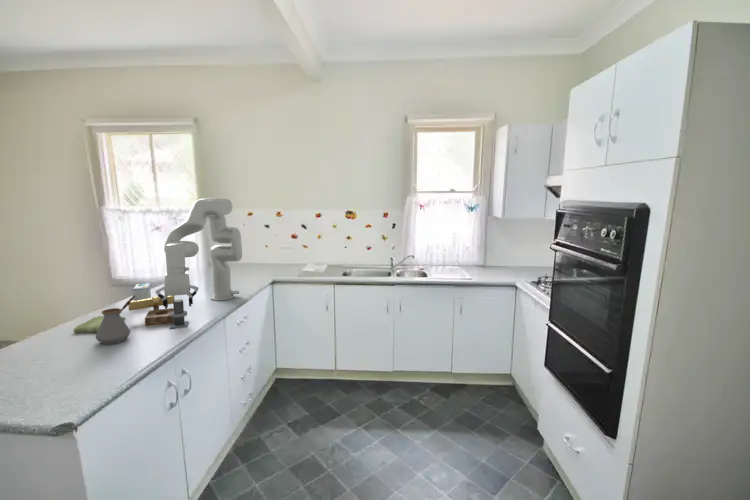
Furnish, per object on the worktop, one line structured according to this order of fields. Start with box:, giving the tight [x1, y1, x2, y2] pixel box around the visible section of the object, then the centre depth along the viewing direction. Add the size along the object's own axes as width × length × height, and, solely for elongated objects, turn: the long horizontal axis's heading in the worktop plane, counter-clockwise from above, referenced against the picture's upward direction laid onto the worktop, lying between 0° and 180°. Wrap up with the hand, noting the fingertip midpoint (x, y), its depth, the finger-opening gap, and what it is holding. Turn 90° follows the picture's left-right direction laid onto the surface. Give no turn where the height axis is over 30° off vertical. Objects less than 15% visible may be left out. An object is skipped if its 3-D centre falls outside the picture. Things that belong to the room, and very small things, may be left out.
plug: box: [170, 298, 188, 326], centre depth 161 cm, size 7×7×12 cm
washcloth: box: [73, 315, 127, 334], centre depth 158 cm, size 13×18×3 cm
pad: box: [169, 320, 189, 330], centre depth 162 cm, size 7×7×1 cm
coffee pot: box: [95, 295, 138, 345], centre depth 147 cm, size 21×12×15 cm, turn 2°
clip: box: [127, 296, 175, 312], centre depth 170 cm, size 3×19×5 cm, turn 133°
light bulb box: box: [132, 282, 152, 301], centre depth 190 cm, size 11×7×11 cm, turn 25°
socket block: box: [144, 306, 175, 327], centre depth 168 cm, size 12×14×5 cm
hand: (178, 306), depth 161 cm, fingers open, 9 cm apart
